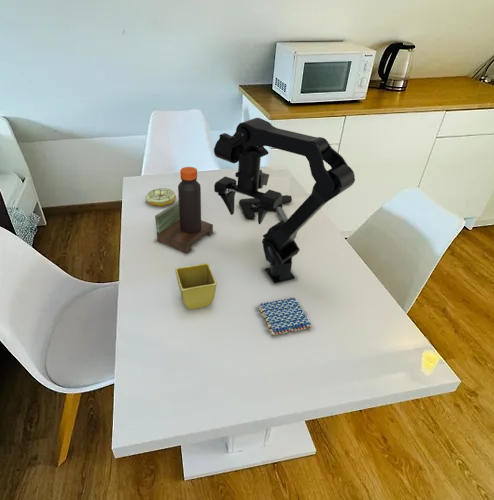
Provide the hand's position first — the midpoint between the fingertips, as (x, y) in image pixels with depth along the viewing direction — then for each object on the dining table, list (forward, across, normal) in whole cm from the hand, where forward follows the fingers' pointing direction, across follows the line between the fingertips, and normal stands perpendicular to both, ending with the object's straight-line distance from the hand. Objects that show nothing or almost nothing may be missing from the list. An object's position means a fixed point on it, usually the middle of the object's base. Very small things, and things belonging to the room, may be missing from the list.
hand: (245, 218), depth 111 cm
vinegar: (+10, +19, +1) cm, 22 cm away
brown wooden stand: (+13, +21, +2) cm, 25 cm away
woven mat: (+13, -22, +17) cm, 31 cm away
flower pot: (+13, 0, +25) cm, 28 cm away
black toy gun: (+13, +6, -28) cm, 32 cm away
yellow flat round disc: (+14, +43, -12) cm, 47 cm away
